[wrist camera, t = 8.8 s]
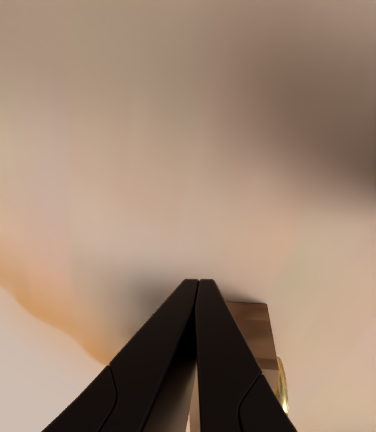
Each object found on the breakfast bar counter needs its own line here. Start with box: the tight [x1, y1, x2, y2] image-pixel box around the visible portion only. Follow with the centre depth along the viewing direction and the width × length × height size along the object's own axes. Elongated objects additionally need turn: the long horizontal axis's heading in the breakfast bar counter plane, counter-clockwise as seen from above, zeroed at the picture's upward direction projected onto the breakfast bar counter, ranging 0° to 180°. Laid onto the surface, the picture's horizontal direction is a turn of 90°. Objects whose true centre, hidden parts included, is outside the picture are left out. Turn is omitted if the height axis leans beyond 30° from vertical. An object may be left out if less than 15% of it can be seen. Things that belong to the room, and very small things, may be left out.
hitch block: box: [189, 302, 279, 432], centre depth 24 cm, size 6×12×6 cm, turn 2°
